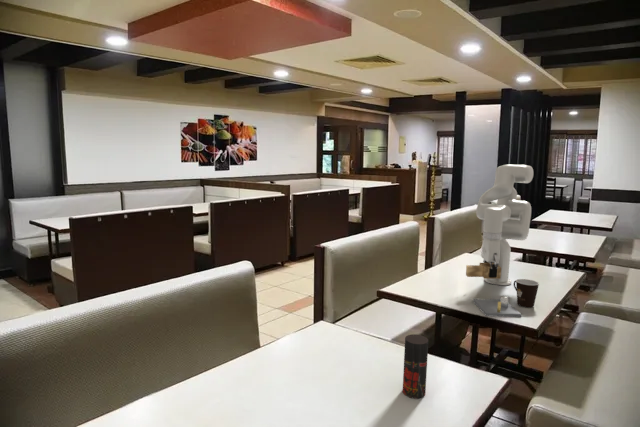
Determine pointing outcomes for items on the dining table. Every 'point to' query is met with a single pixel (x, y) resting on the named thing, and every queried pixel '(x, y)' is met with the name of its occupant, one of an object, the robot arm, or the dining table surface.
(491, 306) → the board
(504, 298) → the post
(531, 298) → the coffee mug
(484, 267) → the tan wooden block
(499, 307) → the stop pin
